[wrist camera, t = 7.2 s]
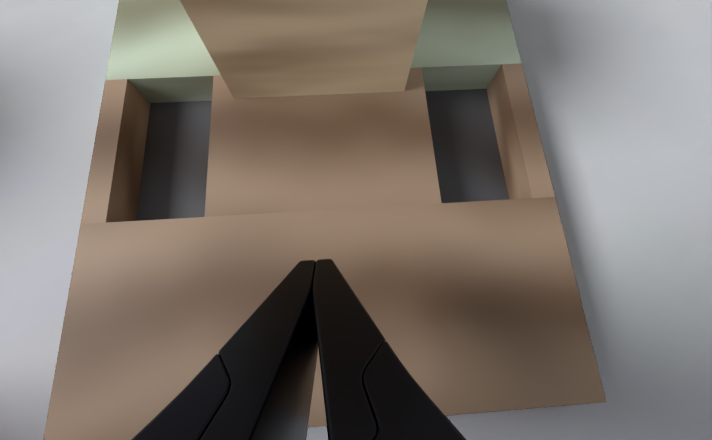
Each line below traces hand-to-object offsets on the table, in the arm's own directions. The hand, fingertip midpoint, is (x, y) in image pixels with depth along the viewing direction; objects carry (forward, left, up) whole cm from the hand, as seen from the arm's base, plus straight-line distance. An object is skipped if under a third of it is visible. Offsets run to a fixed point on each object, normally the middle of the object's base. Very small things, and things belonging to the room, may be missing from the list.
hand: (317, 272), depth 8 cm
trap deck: (+6, -4, -6) cm, 9 cm away
